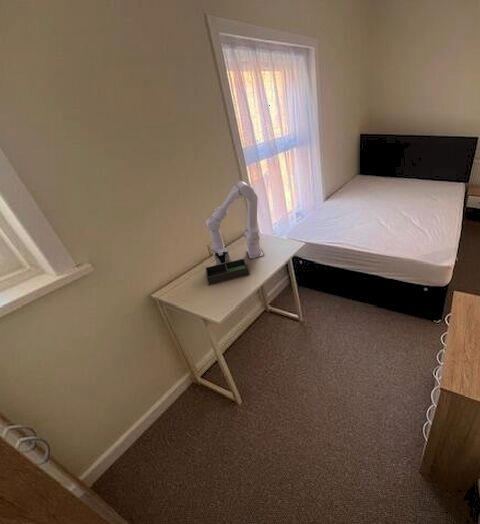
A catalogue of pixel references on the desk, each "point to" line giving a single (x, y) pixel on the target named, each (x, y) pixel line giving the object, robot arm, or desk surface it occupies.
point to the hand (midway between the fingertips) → (222, 260)
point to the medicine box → (227, 258)
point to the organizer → (226, 271)
